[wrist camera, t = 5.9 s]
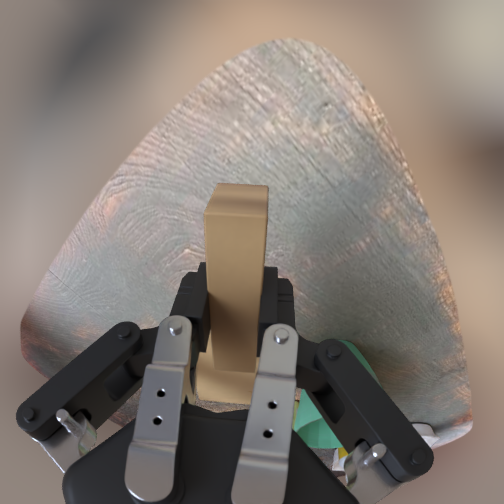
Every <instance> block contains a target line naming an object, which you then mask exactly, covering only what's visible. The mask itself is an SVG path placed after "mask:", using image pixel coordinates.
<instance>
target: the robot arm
mask: <svg viewBox="0 0 504 504" xmlns="http://www.w3.org/2000/svg"><path fill="white" fill-rule="evenodd" d="M210 330H211V325H210V310H209V295H208V290H207V275H206V262H201V263H200V265H199V268H198V272H188V273H187V274H186V275H185V276H184V277H183V278H182V281H181V284H180V288H179V290H178V294H177V295H176V298H175V301H174V304H173V307H172V310H171V313H170V316H169V317H167V318H165V319H164V320H163V321H162V322H161V323H160V325H159V326H158V327H155V328H149V329H142V330H140V328H139V327H138V325H136V324H135V323H133V322H121V323H118V324H116V325H115V326H114V327H112V328H111V329H110V330H109V331H108V332H106V333H105V334H104V335H103V336H101V337H100V338H99V339H98V340H97V341H95V342H94V343H93V344H92V345H91V346H89V347H88V348H87V349H86V350H84V351H83V352H82V353H81V354H80V355H78V356H77V357H76V358H75V359H74V360H72V361H71V362H70V363H69V364H68V365H67V366H65V367H64V368H63V369H62V370H61V371H59V372H58V373H57V374H56V375H55V376H53V377H52V378H51V379H50V380H49V381H48V382H46V383H45V384H44V385H43V386H42V387H41V388H40V389H39V390H37V391H36V392H35V393H34V394H32V395H31V396H30V397H29V398H28V399H27V400H26V401H24V402H23V403H22V404H21V405H20V406H19V408H18V410H17V413H16V420H17V423H18V425H19V427H20V428H21V429H23V430H24V431H25V432H26V433H27V434H29V436H30V437H31V438H32V439H33V440H35V441H36V442H37V443H39V444H40V445H41V446H42V447H43V449H44V450H45V451H46V452H47V454H48V455H49V456H50V457H51V459H52V460H53V461H54V462H55V464H56V465H57V466H58V467H59V468H60V469H61V471H62V472H63V473H64V474H65V475H64V477H63V483H62V490H63V495H64V499H65V502H66V504H376V503H377V502H379V501H380V500H382V499H383V498H384V497H386V496H387V495H388V494H390V493H391V492H393V491H394V490H395V489H397V488H399V487H401V486H403V485H405V484H407V483H408V482H410V481H412V480H414V479H416V478H418V477H420V476H421V475H423V474H425V473H426V472H428V470H429V469H430V468H431V467H432V464H433V461H434V456H433V451H432V449H431V448H430V446H429V445H428V444H427V443H426V441H425V440H424V439H423V438H422V437H421V435H420V434H419V433H418V432H417V430H416V429H415V428H414V427H413V425H412V424H411V423H410V422H409V421H408V419H407V418H406V417H405V416H404V414H403V413H402V412H401V411H400V410H399V408H398V407H397V406H396V405H395V403H394V402H393V401H392V400H391V399H390V397H389V396H388V395H387V394H386V392H385V391H384V390H383V389H382V388H381V386H380V385H379V384H378V383H377V382H376V380H375V379H374V378H373V377H372V375H371V374H370V373H369V372H368V371H367V369H366V368H365V367H364V366H363V365H362V363H361V362H360V361H359V360H358V359H357V357H356V356H355V355H354V354H353V353H352V351H351V350H350V349H349V348H348V347H347V345H346V344H344V343H343V342H341V341H339V340H335V339H327V340H324V341H322V342H321V343H320V344H317V343H314V342H310V341H308V340H306V339H304V338H302V337H301V336H300V335H299V334H298V332H297V330H296V327H295V313H294V297H293V286H292V284H291V283H290V281H289V280H288V279H285V278H278V269H277V267H266V266H264V276H263V288H262V295H261V299H260V311H259V323H258V336H257V353H256V357H260V359H259V364H258V370H257V373H256V377H255V382H254V387H253V392H252V397H251V402H250V407H249V410H245V409H244V410H237V411H230V412H222V413H215V412H212V411H209V410H206V409H204V408H201V407H198V406H196V385H197V371H198V358H199V353H200V352H203V353H206V350H207V345H208V340H209V335H210ZM141 386H142V388H141V394H140V399H139V405H138V411H137V416H136V418H135V419H134V420H132V421H131V422H130V423H128V424H127V425H126V426H124V427H123V428H122V429H120V430H119V431H118V432H116V433H115V434H114V435H112V436H111V437H109V438H108V439H107V440H105V441H104V442H102V443H101V444H100V445H98V446H97V447H96V448H94V449H93V450H91V451H90V449H91V447H93V446H94V445H95V441H96V438H97V432H96V430H97V429H98V428H99V427H100V426H101V425H102V424H103V423H104V422H105V421H106V420H107V419H108V418H109V417H110V416H111V415H112V414H113V413H114V412H116V411H117V410H118V409H119V408H120V407H121V406H122V405H123V404H124V403H125V402H126V401H127V400H128V399H129V398H130V397H131V396H132V395H133V394H134V393H135V392H136V391H137V390H138V389H139V388H140V387H141ZM296 387H298V388H301V389H304V390H305V392H306V394H307V395H308V397H309V398H310V400H311V401H312V402H313V404H314V405H315V407H316V408H317V410H318V411H319V413H320V414H321V416H322V417H323V419H324V420H325V422H326V423H327V424H328V426H329V427H330V429H331V430H332V432H333V433H334V435H335V436H336V437H337V439H338V440H339V442H340V443H341V445H342V446H343V447H344V449H345V450H346V452H347V453H348V454H349V455H348V456H347V457H346V459H345V461H344V471H345V473H346V475H347V479H348V483H347V487H345V486H344V485H343V484H342V483H341V482H340V480H339V479H338V478H337V477H336V476H335V475H334V474H333V473H332V472H331V471H330V470H329V469H328V468H327V466H326V465H325V464H324V463H323V462H322V461H321V460H320V459H319V458H318V456H317V455H316V454H315V453H314V452H313V451H312V450H311V449H310V447H309V446H308V445H307V444H306V443H305V442H304V441H303V439H302V438H301V437H300V436H299V435H298V434H297V433H296V431H294V430H293V429H292V424H293V414H294V404H295V394H296Z"/></svg>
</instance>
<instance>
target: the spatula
mask: <svg viewBox="0 0 504 504" xmlns="http://www.w3.org/2000/svg"><path fill="white" fill-rule="evenodd" d="M268 192H269V188H268V186H265V185H249V184H229V183H218V184H217V185H216V187H215V190H214V192H213V194H212V196H211V198H210V201H209V203H208V205H207V207H206V209H205V212H204V236H205V257H206V275H207V290H208V295H209V310H210V325H211V330H210V335H209V340H208V345H207V350H206V353H203V352H200V353H199V358H198V371H197V385H196V386H197V391H198V396H199V399H200V400H207V401H216V402H226V403H237V404H250V402H251V397H252V392H253V387H254V382H255V377H256V373H257V370H258V364H259V359H260V357H256V353H257V336H258V323H259V311H260V299H261V295H262V288H263V276H264V263H265V250H266V237H267V224H268Z"/></svg>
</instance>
